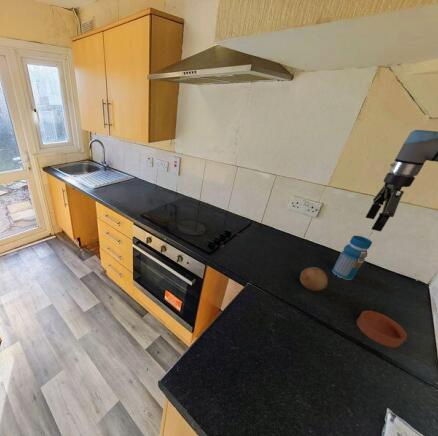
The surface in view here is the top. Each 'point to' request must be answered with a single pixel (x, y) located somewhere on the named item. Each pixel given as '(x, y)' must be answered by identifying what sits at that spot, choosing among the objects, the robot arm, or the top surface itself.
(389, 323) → the bottle stand
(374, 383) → the top surface
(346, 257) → the beverage bottle
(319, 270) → the onion
